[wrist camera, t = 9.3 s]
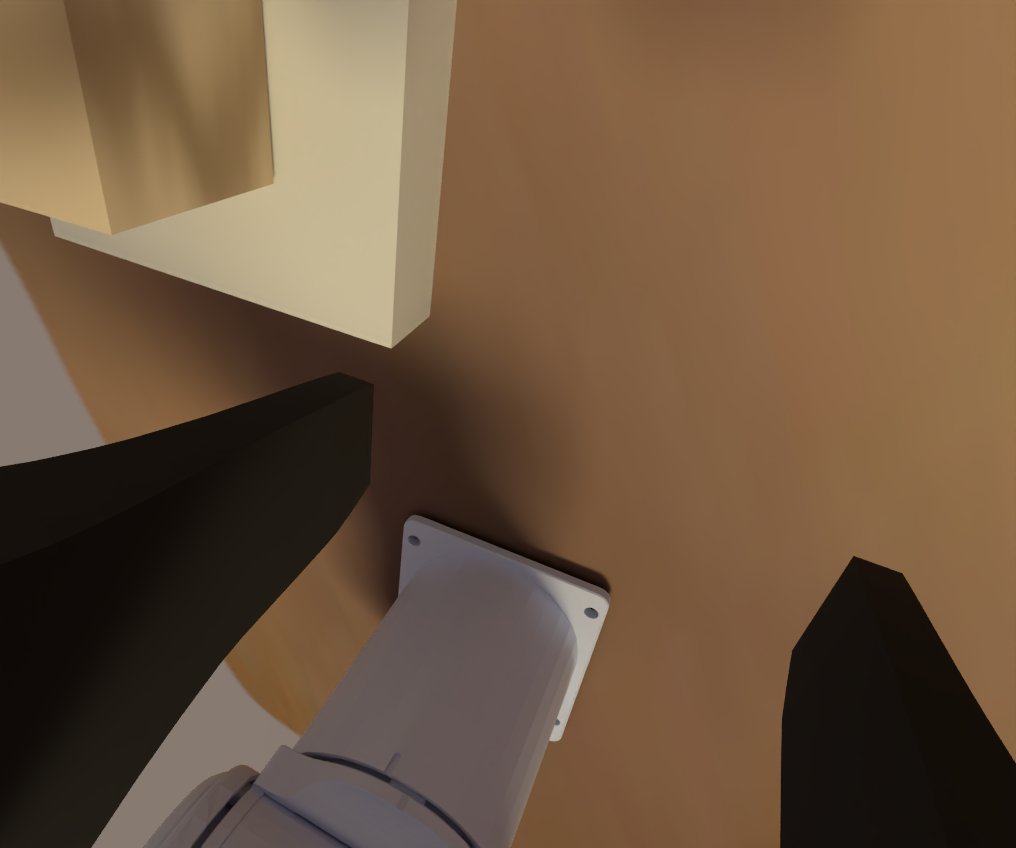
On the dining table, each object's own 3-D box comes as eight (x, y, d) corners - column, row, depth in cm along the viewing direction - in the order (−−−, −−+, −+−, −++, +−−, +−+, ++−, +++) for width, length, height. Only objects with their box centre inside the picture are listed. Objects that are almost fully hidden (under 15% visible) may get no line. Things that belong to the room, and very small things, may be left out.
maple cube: (273, 183, 17) (111, 235, 13) (118, 144, 18) (-74, 180, 14) (257, -56, 14) (46, -81, 10) (75, -85, 16) (-177, -118, 12)
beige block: (438, 308, 21) (391, 348, 19) (130, 211, 24) (54, 235, 21) (486, -207, 14) (421, -246, 12) (42, -266, 17) (-85, -308, 14)
